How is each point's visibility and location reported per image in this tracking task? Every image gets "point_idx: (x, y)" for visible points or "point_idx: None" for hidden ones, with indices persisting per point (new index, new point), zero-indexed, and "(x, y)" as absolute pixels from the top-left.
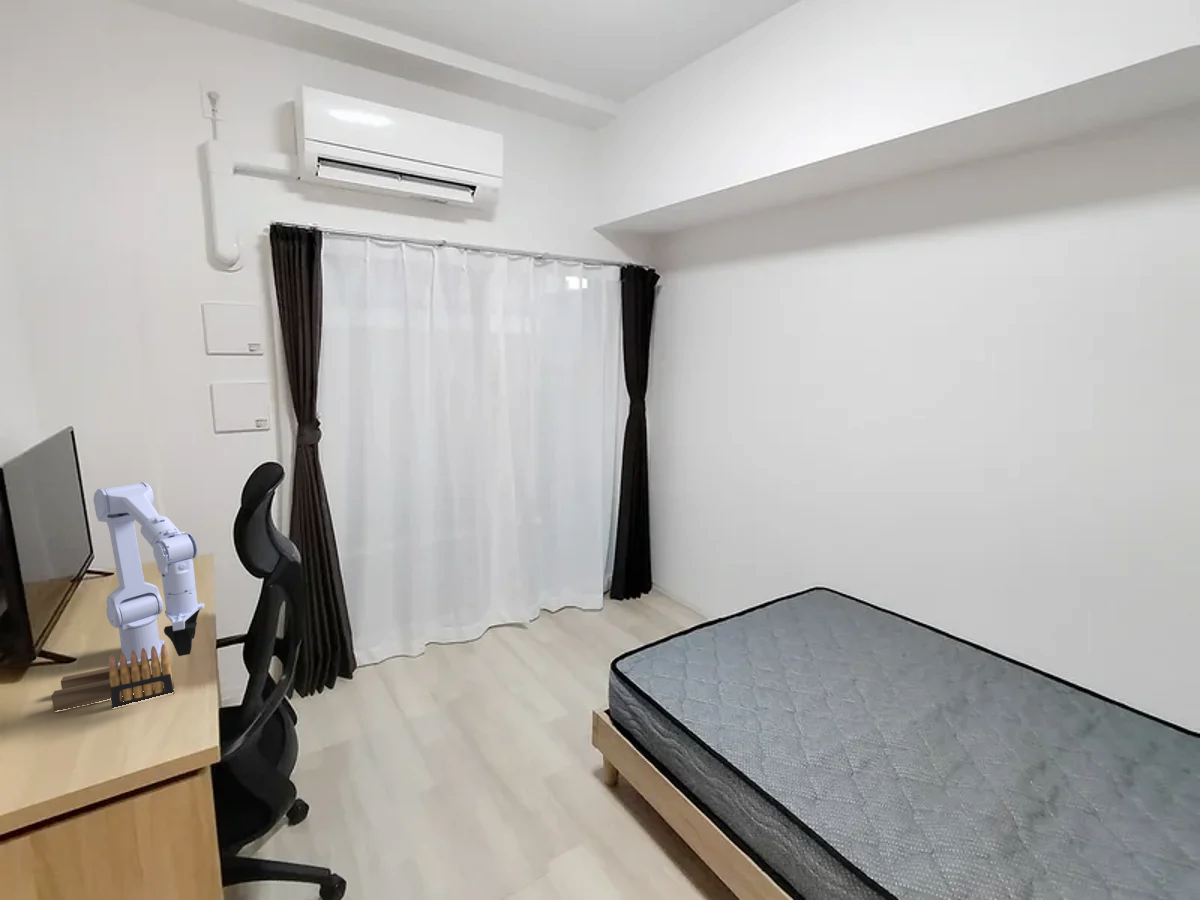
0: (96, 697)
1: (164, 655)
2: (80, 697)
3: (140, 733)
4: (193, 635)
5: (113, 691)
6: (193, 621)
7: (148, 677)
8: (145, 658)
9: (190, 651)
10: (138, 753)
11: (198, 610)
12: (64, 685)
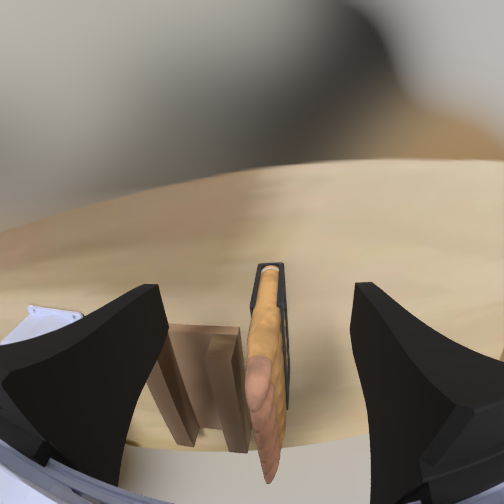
0: (245, 400)
1: (271, 369)
2: (246, 420)
3: (434, 301)
4: (150, 295)
5: (288, 397)
6: (95, 348)
7: (282, 356)
8: (273, 412)
9: (377, 286)
10: (494, 288)
11: (25, 378)
12: (195, 437)
